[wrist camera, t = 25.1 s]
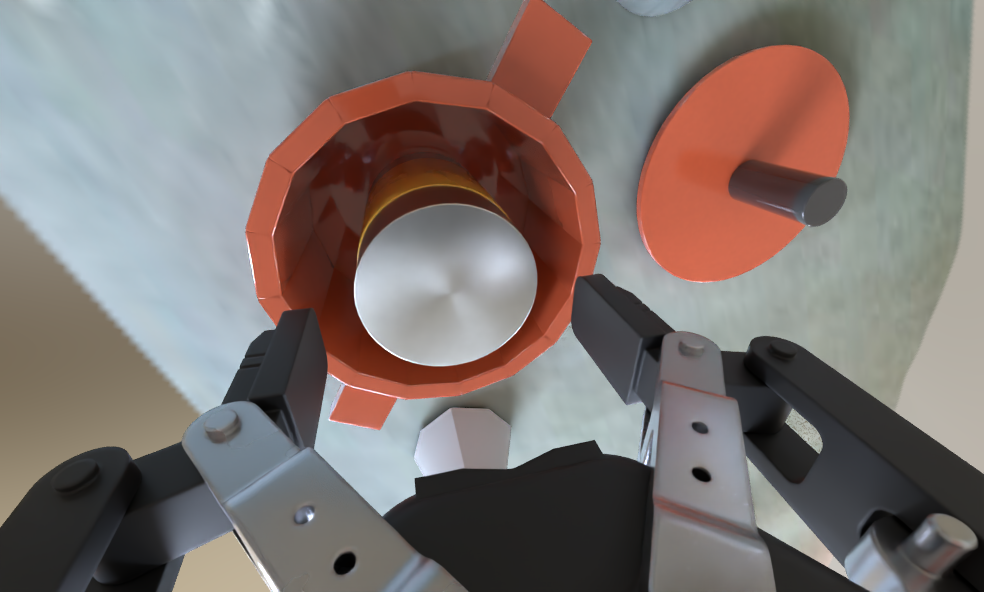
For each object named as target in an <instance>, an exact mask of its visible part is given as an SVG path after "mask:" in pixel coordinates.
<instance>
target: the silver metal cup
mask: <svg viewBox="0 0 984 592" xmlns="http://www.w3.org/2000/svg"><path fill="white" fill-rule="evenodd" d="M616 1H617V2H618V3H619V4H620V5H621V6H622V7H623V8H625V9H626V10H628V11H630V12H632V13H634V14H637V15H641V16H647V17H654V16H660V15H664V14H667V13H670V12H672V11H674V10H676V9H678V8H680V7H682V6H684V5H686V4H687V3H689V2H691V1H693V0H616Z"/></svg>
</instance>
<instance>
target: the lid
mask: <svg viewBox="0 0 984 592" xmlns="http://www.w3.org/2000/svg"><path fill="white" fill-rule="evenodd" d="M848 131H849V103H848V97H847V93H846V89H845V86H844V84H843V81H842V79H841V77H840V75H839V73H838V72H837V70H836V69H835V68H834V66H833V65H832V64H831V63H830V62H829V61H828V60H827V59H826V58H825V57H824V56H822V55H820V54H818V53H817V52H815V51H813V50H811V49H808V48H805V47H802V46H796V45H774V46H764V47H760V48H756V49H752V50H749V51H746V52H744V53H742V54H739V55H737V56H734V57H733V58H731V59H729V60H727V61H726V62H724V63H722V64H720V65H719V66H717V67H716V68H715V69H713V70H712V71H711V72H709V73H708V74H707V75H705V76H704V77H703V78H701V79H700V80H699V81H698V82H697V83H696V84H695V85H694V86H693V87H692V88H691V89H690V90H689V91H688V92H687V93H686V94H685V95H684V96H683V97H682V99H681V100H680V101H679V102H678V103H677V104H676V105H675V107H674V108H673V110H672V111H671V112H670V114H669V115H668V117H667V118H666V119H665V121H664V123H663V124H662V126H661V128H660V129H659V131H658V133H657V135H656V136H655V138H654V141H653V143H652V145H651V147H650V149H649V151H648V154H647V157H646V160H645V162H644V165H643V168H642V172H641V176H640V181H639V185H638V193H637V221H638V228H639V232H640V235H641V238H642V241H643V243H644V245H645V247H646V250H647V251H648V253H649V254H650V256H651V257H652V258H653V260H654V261H655V262H656V263H657V264H658V265H659V266H660V267H662V268H663V269H665V270H666V271H668V272H669V273H671V274H672V275H674V276H676V277H679V278H681V279H684V280H689V281H693V282H715V281H720V280H726V279H729V278H732V277H735V276H738V275H741V274H743V273H745V272H748V271H750V270H752V269H753V268H755V267H757V266H759V265H761V264H762V263H764V262H765V261H767V260H768V259H770V258H771V257H773V256H774V255H775V254H776V253H778V252H779V251H780V250H781V249H783V248H784V247H785V246H786V245H787V244H788V243H789V242H790V241H791V240H793V239H794V238H795V237H796V235H797V234H798V233H799V232H800V231H801V230H802V229H803V228H804V227H805V226H806V225H807V226H811V227H816V226H820V225H823V224H825V223H826V222H828V221H829V220H831V219H832V218H833V217H834V216H835V215H836V214H837V213H838V211H839V210H840V209H841V207H842V206H843V204H844V202H845V199H846V196H847V186H846V184H845V182H844V181H843V180H841V179H839V178H835V177H836V175H837V173H838V170H839V168H840V165H841V162H842V159H843V156H844V152H845V148H846V144H847V138H848Z"/></svg>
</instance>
